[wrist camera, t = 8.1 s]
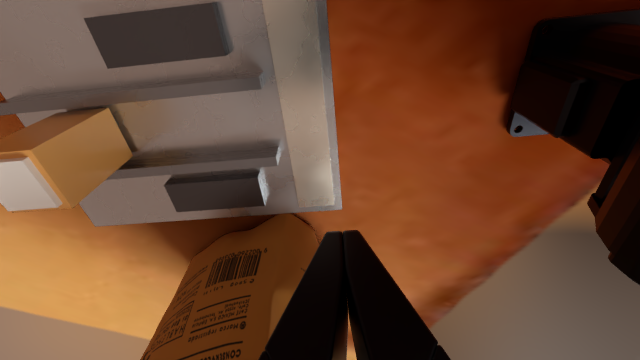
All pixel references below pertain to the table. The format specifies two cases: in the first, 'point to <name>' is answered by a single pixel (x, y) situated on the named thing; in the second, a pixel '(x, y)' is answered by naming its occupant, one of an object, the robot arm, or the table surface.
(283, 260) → the coffee package
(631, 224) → the robot arm
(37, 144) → the block
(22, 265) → the table surface
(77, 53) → the panel
